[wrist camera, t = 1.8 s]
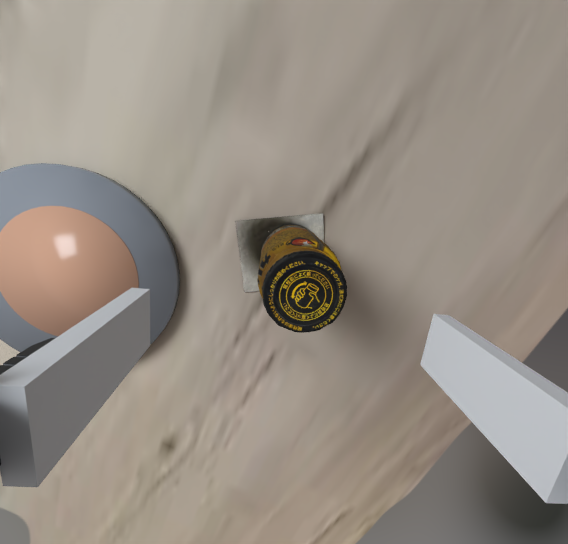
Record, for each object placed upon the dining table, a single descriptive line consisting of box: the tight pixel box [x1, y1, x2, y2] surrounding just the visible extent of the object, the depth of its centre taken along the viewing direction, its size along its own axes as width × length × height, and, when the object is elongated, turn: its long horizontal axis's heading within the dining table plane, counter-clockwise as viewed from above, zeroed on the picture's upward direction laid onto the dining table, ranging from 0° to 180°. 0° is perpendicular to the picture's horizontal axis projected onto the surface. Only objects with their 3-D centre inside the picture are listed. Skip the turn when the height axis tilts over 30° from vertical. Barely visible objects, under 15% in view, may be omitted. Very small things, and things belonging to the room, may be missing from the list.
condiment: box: [235, 214, 347, 332], centre depth 23 cm, size 7×8×12 cm
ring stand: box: [0, 163, 180, 352], centre depth 27 cm, size 20×20×1 cm
